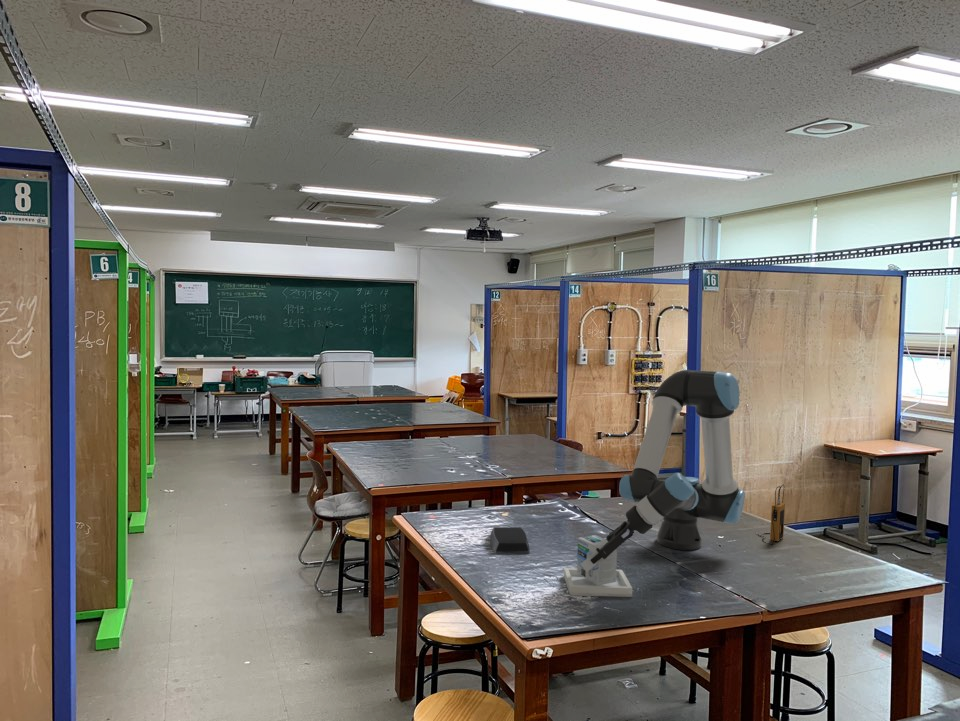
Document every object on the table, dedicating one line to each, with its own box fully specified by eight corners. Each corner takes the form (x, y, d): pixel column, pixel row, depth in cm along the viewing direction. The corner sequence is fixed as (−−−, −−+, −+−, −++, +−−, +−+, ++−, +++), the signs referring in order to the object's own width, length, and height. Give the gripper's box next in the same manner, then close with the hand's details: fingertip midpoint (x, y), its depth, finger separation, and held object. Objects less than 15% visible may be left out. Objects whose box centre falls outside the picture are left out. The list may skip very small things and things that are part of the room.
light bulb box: (575, 573, 196) (576, 537, 196) (594, 569, 200) (595, 534, 199) (598, 586, 187) (599, 548, 186) (617, 582, 190) (618, 545, 189)
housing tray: (563, 576, 201) (564, 568, 200) (621, 577, 200) (621, 569, 200) (569, 595, 186) (570, 586, 186) (632, 597, 186) (632, 588, 186)
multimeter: (758, 530, 254) (761, 478, 253) (786, 536, 247) (789, 482, 246) (745, 539, 242) (748, 484, 241) (774, 545, 236) (777, 489, 235)
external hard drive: (492, 554, 219) (492, 542, 219) (488, 536, 239) (488, 525, 238) (531, 555, 220) (532, 542, 220) (524, 536, 239) (524, 525, 239)
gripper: (649, 537, 176) (588, 585, 182) (657, 515, 198) (604, 558, 204) (629, 515, 177) (570, 563, 183) (640, 495, 200) (587, 539, 206)
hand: (588, 561), depth 194 cm, fingers closed on light bulb box, 12 cm apart
